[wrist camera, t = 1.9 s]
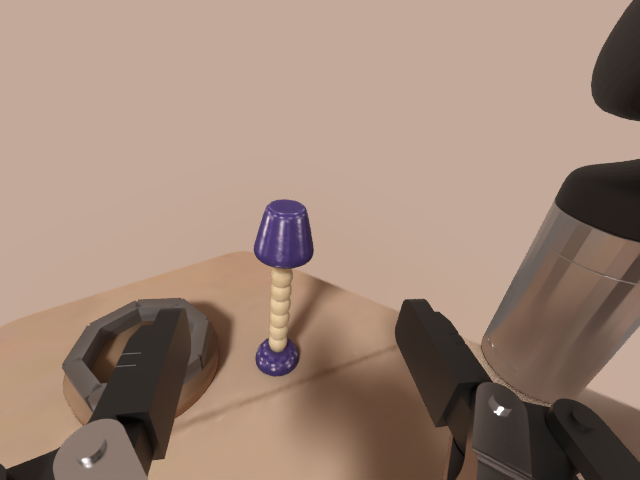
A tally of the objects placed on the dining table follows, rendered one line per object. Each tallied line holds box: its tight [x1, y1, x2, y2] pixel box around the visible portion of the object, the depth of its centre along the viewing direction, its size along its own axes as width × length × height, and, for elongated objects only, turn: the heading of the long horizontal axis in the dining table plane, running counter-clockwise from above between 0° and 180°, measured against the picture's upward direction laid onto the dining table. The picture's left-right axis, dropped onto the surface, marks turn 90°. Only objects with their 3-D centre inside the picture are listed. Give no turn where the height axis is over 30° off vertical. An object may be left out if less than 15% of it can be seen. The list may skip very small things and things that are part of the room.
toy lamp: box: [254, 200, 314, 376], centre depth 26 cm, size 5×5×17 cm
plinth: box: [62, 298, 219, 426], centre depth 27 cm, size 12×12×4 cm
